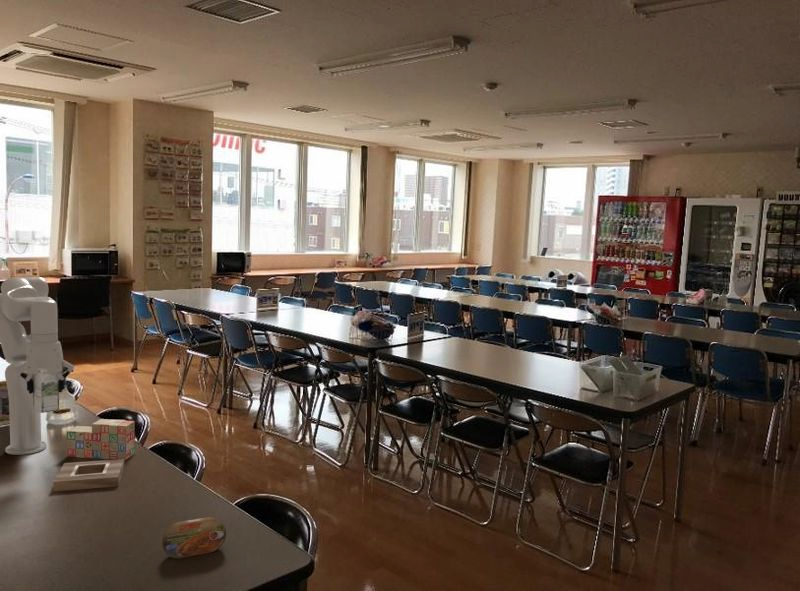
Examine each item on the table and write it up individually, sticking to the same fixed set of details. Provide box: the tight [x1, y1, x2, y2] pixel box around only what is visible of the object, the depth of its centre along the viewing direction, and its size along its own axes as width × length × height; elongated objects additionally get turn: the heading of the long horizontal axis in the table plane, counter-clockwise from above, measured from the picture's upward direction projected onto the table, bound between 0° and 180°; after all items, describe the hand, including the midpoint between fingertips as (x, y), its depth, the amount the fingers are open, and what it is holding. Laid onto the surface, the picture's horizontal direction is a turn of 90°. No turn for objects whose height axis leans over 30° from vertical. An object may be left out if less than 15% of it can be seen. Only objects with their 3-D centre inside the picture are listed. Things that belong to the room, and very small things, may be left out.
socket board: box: [52, 459, 125, 492], centre depth 205 cm, size 16×18×3 cm
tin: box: [161, 516, 227, 559], centre depth 161 cm, size 15×3×8 cm, turn 114°
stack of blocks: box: [66, 418, 136, 461], centre depth 226 cm, size 21×6×12 cm, turn 85°
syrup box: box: [33, 368, 60, 414], centre depth 209 cm, size 6×6×14 cm
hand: (46, 391), depth 209 cm, fingers closed on syrup box, 8 cm apart
